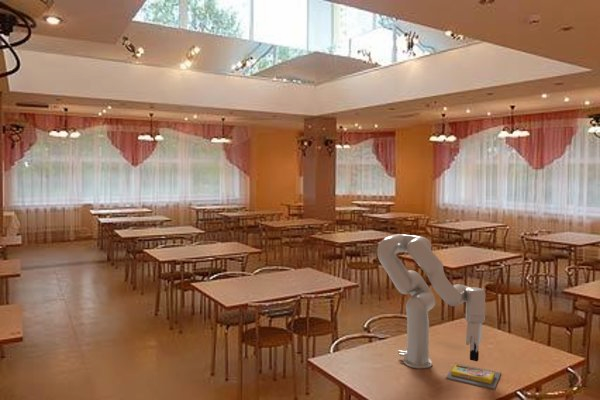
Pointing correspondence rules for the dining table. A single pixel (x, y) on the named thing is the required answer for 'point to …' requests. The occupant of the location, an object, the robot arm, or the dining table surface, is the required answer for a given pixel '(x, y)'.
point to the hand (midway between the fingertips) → (474, 360)
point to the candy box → (473, 373)
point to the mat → (474, 382)
